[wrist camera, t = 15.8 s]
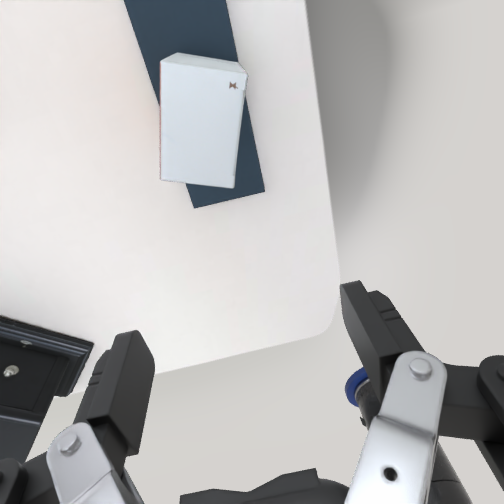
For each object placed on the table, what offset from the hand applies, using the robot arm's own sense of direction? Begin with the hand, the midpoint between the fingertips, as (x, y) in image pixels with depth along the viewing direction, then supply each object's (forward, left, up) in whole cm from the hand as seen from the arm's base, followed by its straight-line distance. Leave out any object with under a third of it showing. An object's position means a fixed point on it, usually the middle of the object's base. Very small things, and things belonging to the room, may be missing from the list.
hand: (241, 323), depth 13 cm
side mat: (+3, -5, -25) cm, 26 cm away
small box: (+3, -4, -25) cm, 25 cm away
